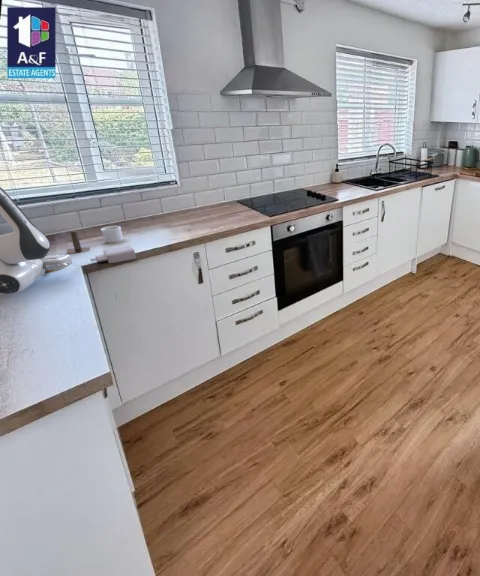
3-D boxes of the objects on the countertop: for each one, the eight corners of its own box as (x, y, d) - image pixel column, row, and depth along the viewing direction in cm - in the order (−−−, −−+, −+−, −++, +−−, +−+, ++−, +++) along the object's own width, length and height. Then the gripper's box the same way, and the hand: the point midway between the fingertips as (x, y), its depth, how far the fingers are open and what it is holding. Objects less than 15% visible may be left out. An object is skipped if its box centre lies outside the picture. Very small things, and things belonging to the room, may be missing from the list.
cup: (100, 243, 180) (95, 227, 176) (118, 239, 186) (113, 223, 182) (110, 247, 174) (104, 231, 171) (128, 243, 180) (123, 227, 177)
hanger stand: (66, 256, 159) (60, 233, 156) (68, 251, 166) (62, 229, 162) (89, 253, 164) (83, 231, 160) (90, 249, 170) (84, 228, 166)
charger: (90, 262, 154) (131, 254, 163) (94, 269, 148) (137, 260, 157) (86, 251, 152) (128, 244, 161) (90, 257, 146) (134, 249, 155)
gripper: (61, 257, 130) (75, 247, 142) (-15, 262, 123) (6, 250, 135) (66, 274, 133) (79, 262, 145) (-8, 279, 125) (12, 267, 137)
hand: (43, 256), depth 140 cm, fingers open, 7 cm apart
